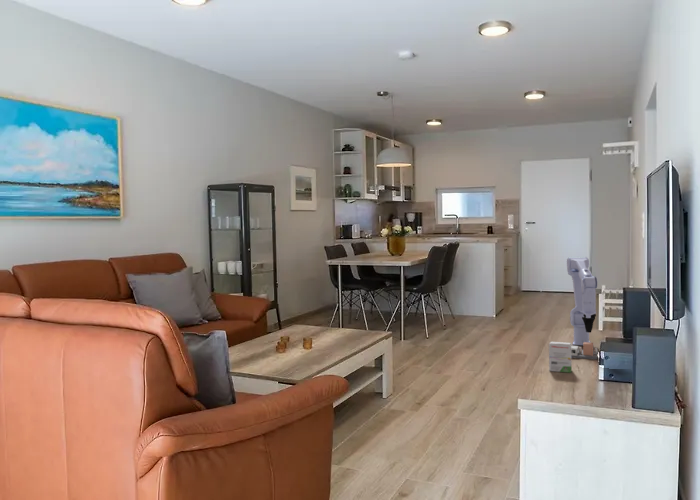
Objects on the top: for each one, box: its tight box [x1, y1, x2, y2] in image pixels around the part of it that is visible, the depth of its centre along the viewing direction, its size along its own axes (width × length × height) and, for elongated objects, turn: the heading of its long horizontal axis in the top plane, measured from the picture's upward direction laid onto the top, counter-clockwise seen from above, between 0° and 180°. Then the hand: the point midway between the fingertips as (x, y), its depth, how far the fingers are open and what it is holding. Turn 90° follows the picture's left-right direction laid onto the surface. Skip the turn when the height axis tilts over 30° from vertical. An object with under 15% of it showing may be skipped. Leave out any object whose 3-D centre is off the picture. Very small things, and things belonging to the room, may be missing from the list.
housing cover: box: [571, 344, 579, 355], centre depth 268 cm, size 6×5×3 cm
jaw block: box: [582, 342, 594, 355], centre depth 266 cm, size 4×4×5 cm
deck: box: [571, 346, 599, 360], centre depth 269 cm, size 14×14×4 cm
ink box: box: [548, 341, 573, 374], centre depth 243 cm, size 8×5×12 cm, turn 65°
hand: (589, 330), depth 275 cm, fingers open, 7 cm apart
